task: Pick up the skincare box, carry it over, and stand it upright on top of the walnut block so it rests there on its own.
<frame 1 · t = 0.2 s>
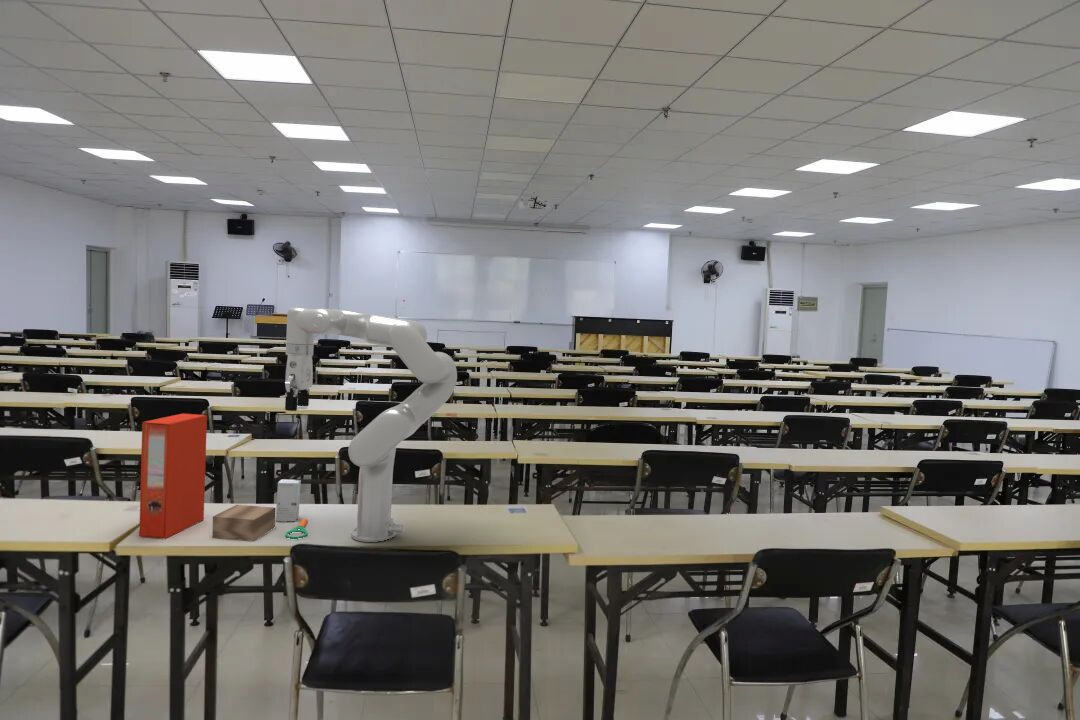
hand: (297, 408, 187), 36 cm above the table, tool pointing down, fingers open, 9 cm apart
file binder: (173, 528, 184), on the table
walnut block: (244, 532, 184), on the table
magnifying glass: (299, 532, 188), on the table
skincare box: (287, 520, 197), on the table
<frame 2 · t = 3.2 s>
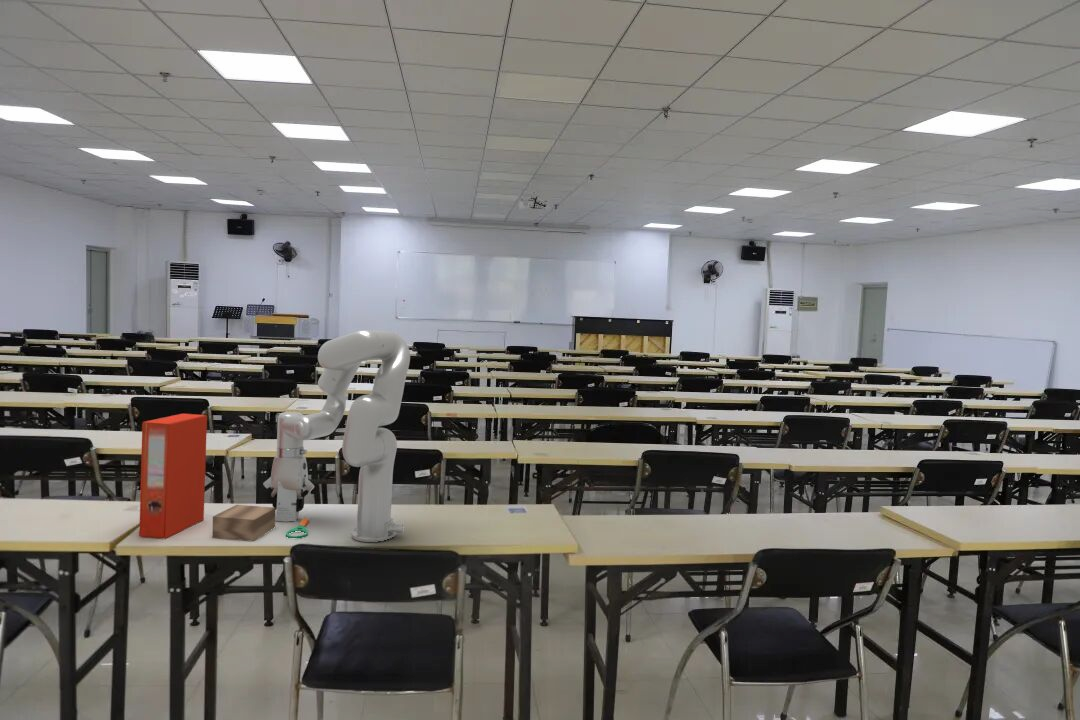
hand: (288, 509, 197), 3 cm above the table, tool pointing down, fingers closed on skincare box, 6 cm apart
skincare box: (287, 520, 197), on the table, touching gripper
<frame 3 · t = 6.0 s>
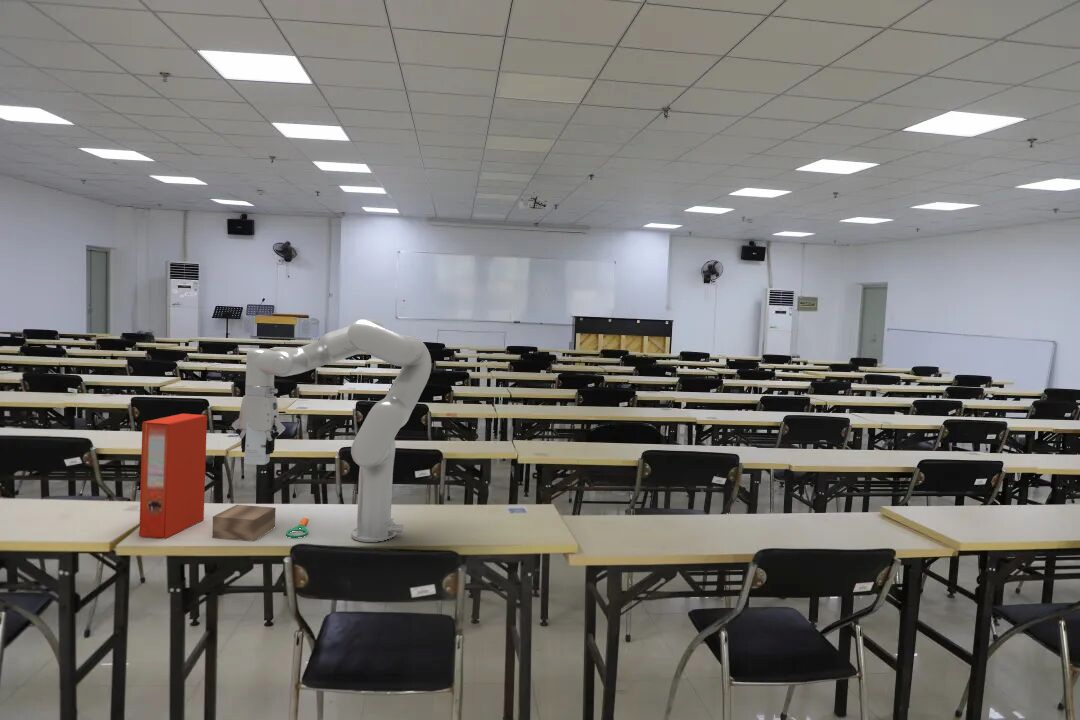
hand: (257, 452, 186), 23 cm above the table, tool pointing down, fingers closed on skincare box, 6 cm apart
skincare box: (257, 463, 186), point 19 cm above the table, touching gripper
when the fingers open (11 cm above the table, at t = 9.1 s): skincare box drops 1 cm, resting on walnut block.
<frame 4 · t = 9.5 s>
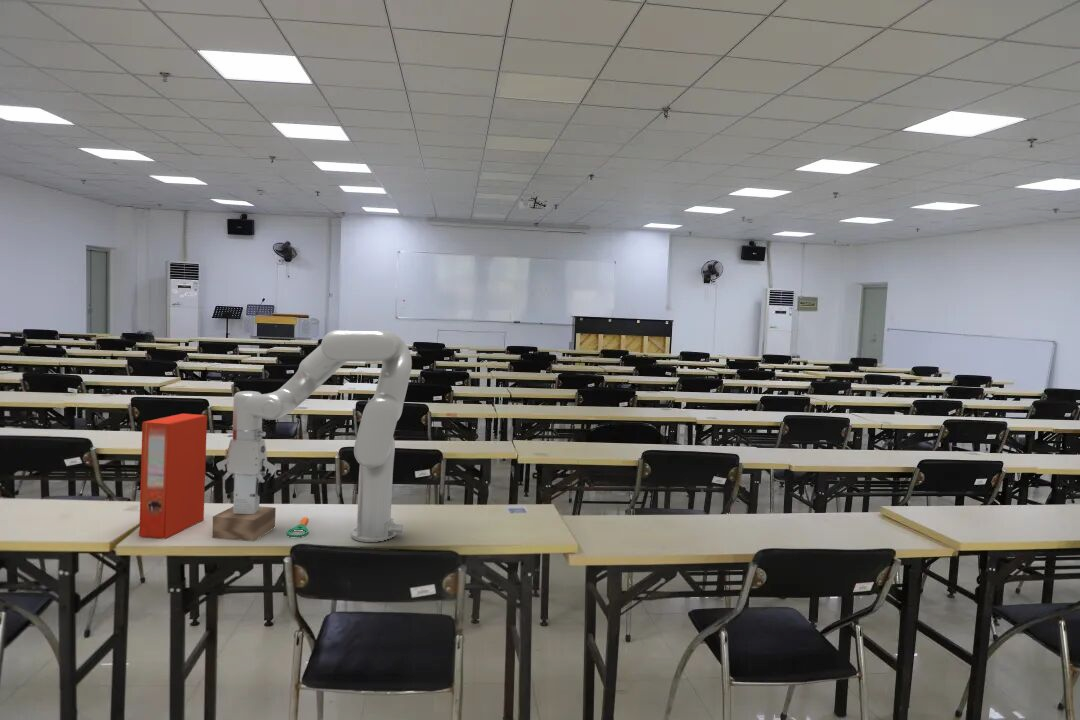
hand: (245, 493, 183), 11 cm above the table, tool pointing down, fingers open, 9 cm apart
skincare box: (246, 512, 184), point 6 cm above the table, touching walnut block
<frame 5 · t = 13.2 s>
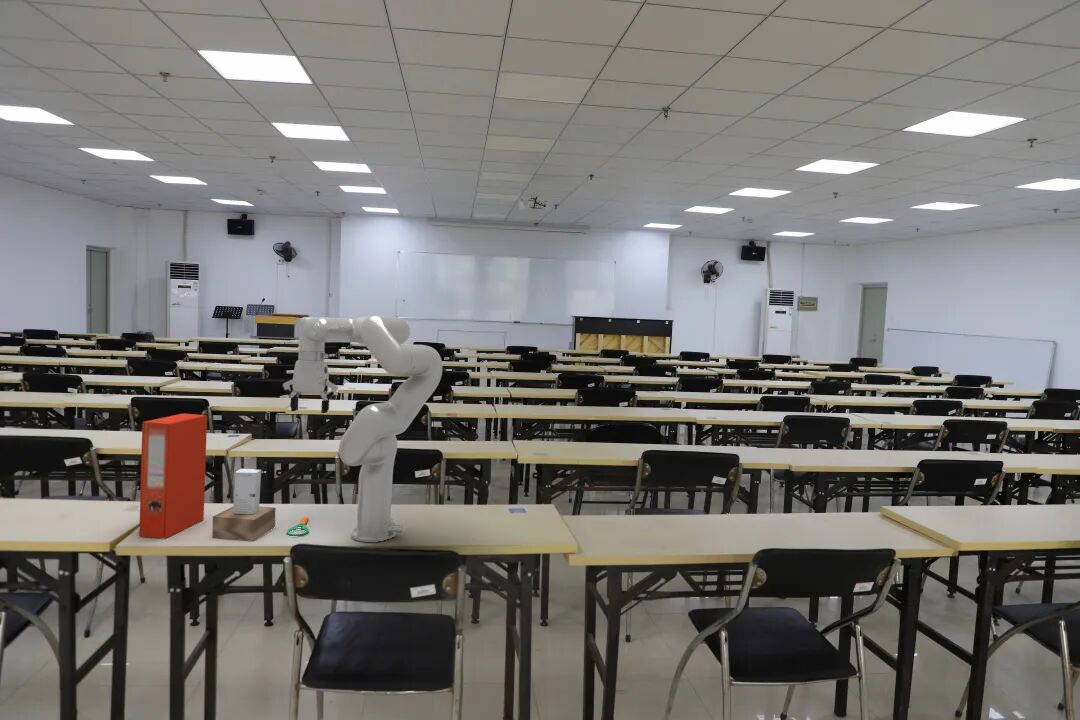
hand: (309, 411, 199), 33 cm above the table, tool pointing down, fingers open, 9 cm apart
at the end: skincare box inside the target area on the walnut block (0.5 cm from its centre), point 5.8 cm above the walnut block's base; skincare box tilted 0°; the gripper is holding nothing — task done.
